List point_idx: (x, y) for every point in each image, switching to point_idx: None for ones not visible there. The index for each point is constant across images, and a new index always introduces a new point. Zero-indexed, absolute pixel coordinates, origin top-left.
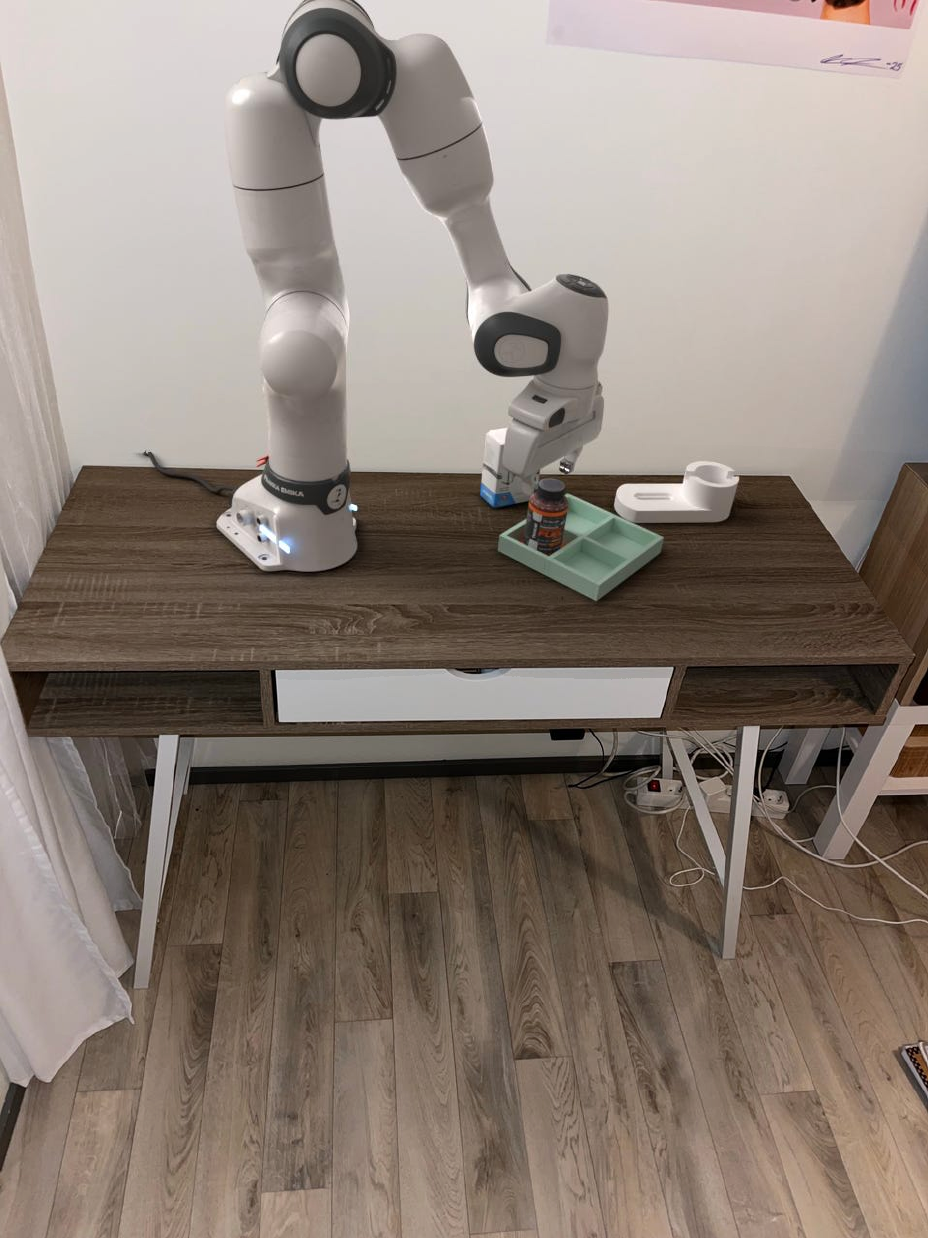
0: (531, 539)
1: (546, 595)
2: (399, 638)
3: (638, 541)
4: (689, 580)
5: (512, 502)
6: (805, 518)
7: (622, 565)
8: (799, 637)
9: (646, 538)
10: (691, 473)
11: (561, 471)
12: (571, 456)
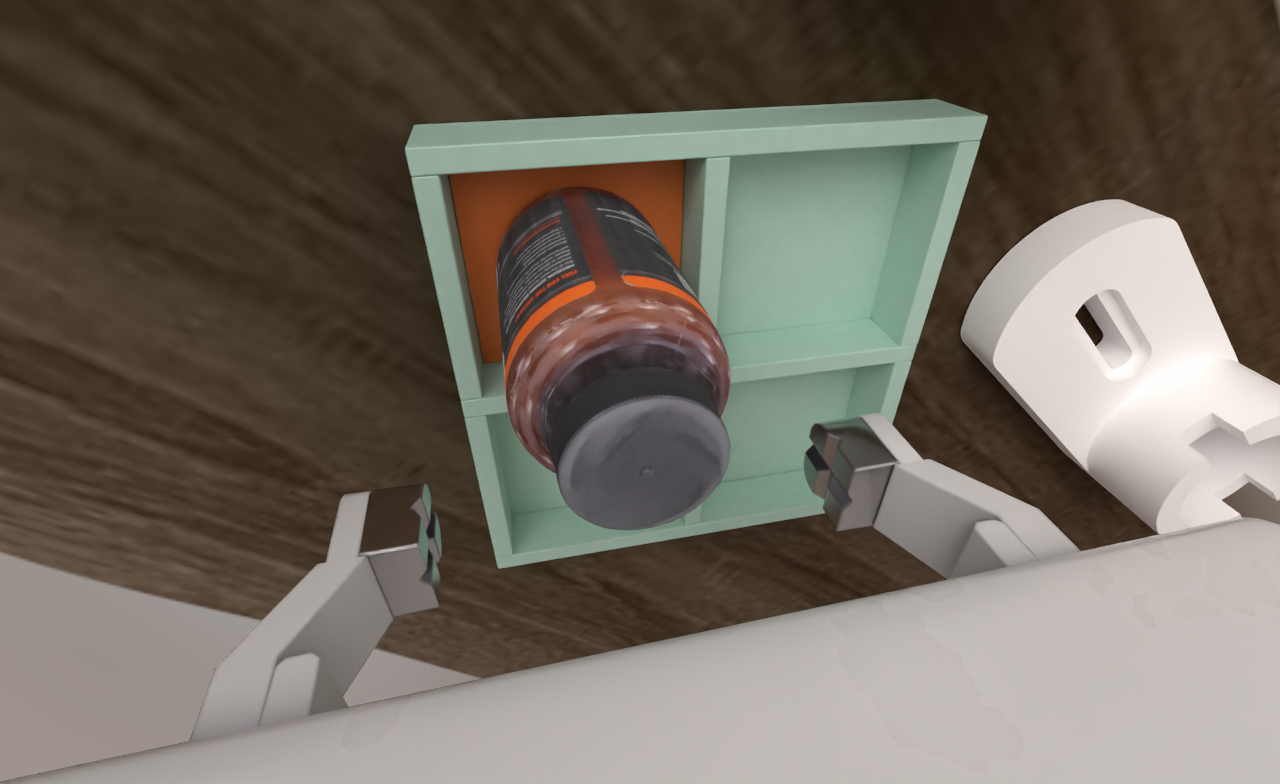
0: (498, 299)
1: (378, 438)
2: None
3: None
4: (765, 562)
5: None
6: (1155, 533)
7: (643, 540)
8: None
9: None
10: (1237, 436)
11: (811, 437)
12: (916, 527)
